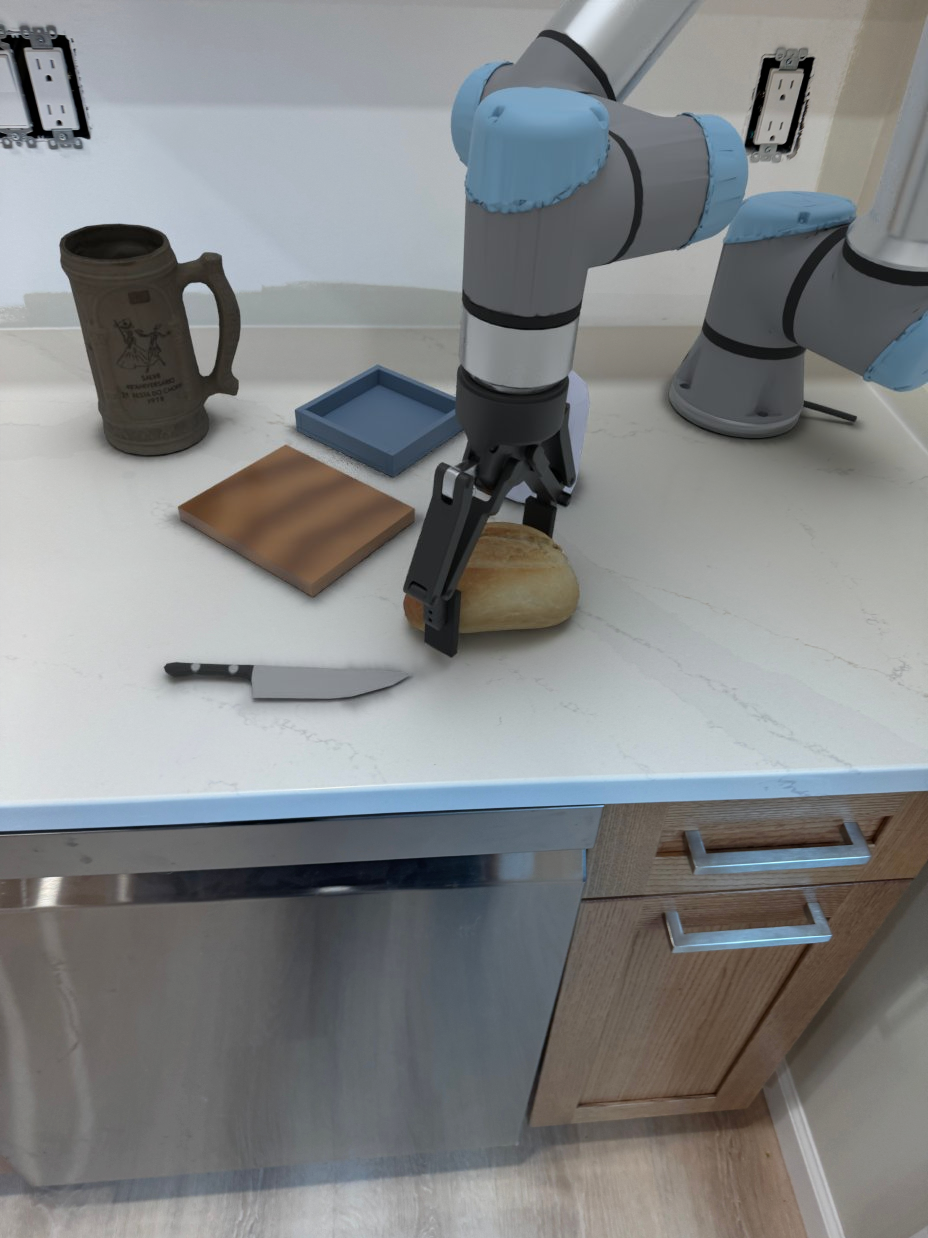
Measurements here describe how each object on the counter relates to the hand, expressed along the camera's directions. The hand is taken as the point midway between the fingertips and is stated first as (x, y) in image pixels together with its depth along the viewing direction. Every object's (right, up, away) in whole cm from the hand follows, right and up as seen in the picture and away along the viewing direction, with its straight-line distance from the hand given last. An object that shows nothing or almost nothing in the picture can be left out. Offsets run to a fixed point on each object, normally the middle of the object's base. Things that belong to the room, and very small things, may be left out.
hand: (489, 603), depth 69 cm
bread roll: (0, -1, +1) cm, 2 cm away
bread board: (-18, +8, +9) cm, 21 cm away
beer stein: (-33, +20, +20) cm, 43 cm away
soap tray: (-11, +20, +21) cm, 31 cm away
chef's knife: (-16, -7, -6) cm, 18 cm away
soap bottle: (+5, +13, +16) cm, 21 cm away
